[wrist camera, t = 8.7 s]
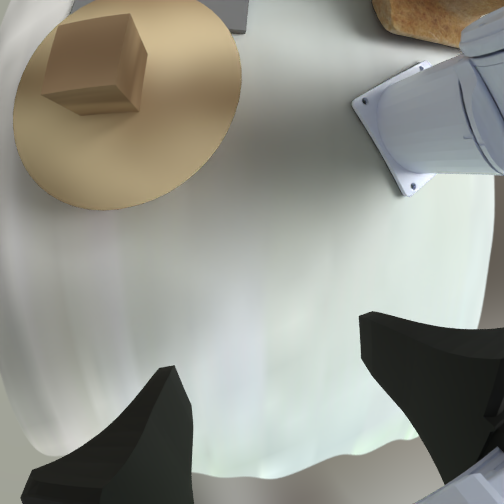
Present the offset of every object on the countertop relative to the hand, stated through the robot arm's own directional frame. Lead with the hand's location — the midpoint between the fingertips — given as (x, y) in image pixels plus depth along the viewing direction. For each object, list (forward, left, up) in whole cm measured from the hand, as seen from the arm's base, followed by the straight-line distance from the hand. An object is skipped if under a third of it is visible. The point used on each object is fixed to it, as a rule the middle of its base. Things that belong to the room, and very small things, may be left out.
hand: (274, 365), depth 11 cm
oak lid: (-1, -13, -5) cm, 14 cm away
